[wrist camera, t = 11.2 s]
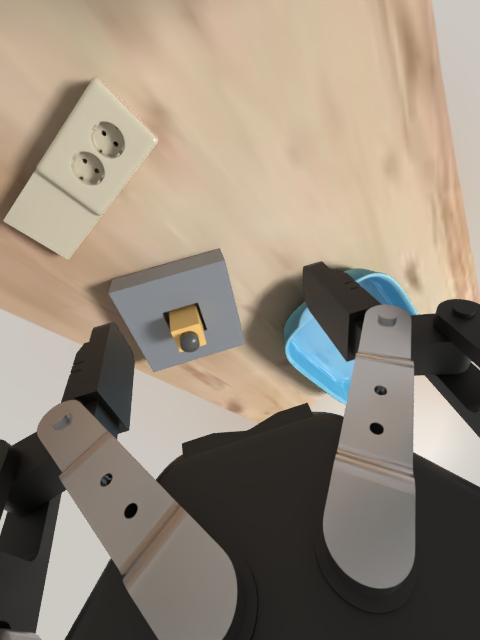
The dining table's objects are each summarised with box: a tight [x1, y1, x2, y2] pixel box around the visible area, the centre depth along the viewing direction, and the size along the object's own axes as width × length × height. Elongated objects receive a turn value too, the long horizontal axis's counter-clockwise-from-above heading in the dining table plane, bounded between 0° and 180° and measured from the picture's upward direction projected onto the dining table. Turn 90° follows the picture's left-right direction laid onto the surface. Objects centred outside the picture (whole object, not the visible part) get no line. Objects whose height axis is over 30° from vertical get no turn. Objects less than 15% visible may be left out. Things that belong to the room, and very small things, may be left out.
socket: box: [108, 249, 245, 372], centre depth 46 cm, size 16×16×4 cm
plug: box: [169, 303, 206, 353], centre depth 43 cm, size 4×4×8 cm
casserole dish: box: [284, 269, 419, 405], centre depth 57 cm, size 37×22×7 cm, turn 42°
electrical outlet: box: [3, 77, 158, 260], centre depth 32 cm, size 7×4×18 cm
